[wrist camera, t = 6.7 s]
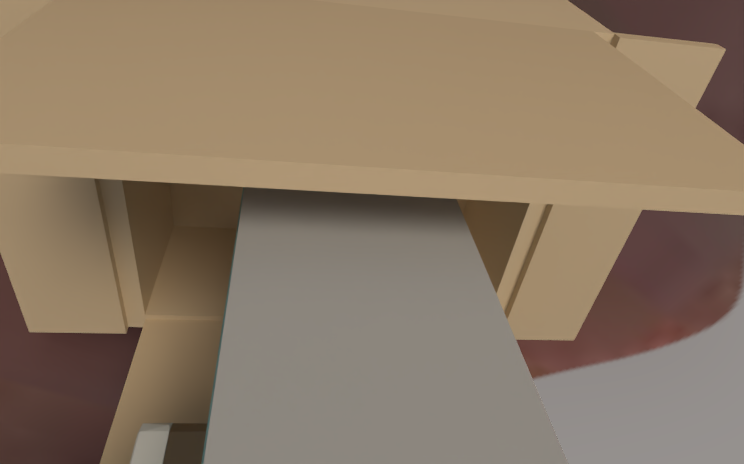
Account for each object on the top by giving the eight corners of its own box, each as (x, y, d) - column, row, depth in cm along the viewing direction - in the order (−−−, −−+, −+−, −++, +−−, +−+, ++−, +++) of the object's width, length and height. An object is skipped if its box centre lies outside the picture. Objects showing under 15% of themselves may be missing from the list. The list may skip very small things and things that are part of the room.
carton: (525, 245, 25) (675, 538, 15) (86, 225, 22) (-101, 575, 12) (622, -9, 19) (1011, 208, 8) (14, -84, 16) (-544, 108, 5)
